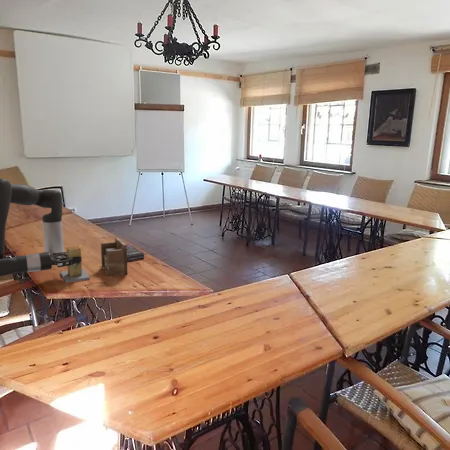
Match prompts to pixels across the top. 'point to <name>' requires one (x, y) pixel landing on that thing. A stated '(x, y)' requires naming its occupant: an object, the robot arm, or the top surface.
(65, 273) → the rubber mat
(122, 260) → the offcut rack
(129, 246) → the box
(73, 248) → the shoe polish box
